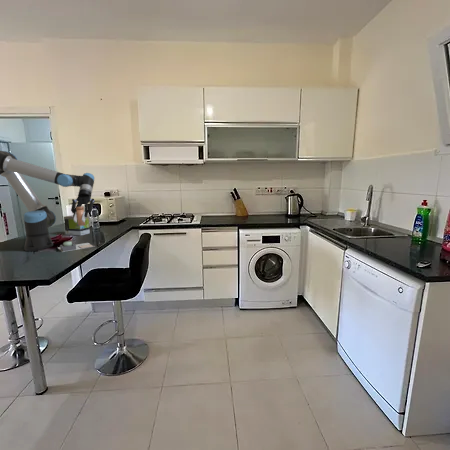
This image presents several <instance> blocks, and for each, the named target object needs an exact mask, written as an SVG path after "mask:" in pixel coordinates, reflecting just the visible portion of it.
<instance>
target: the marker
mask: <svg viewBox="0 0 450 450" xmlns="http://www.w3.org/2000/svg"><path fill="white" fill-rule="evenodd" d="M75 208H76V211H77V219H78V226H83V225H85V222H83V221H82V216H83V211H85V206H83V205H82V206H81V207H75Z"/></svg>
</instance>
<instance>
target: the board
mask: <svg viewBox="0 0 450 450" xmlns="http://www.w3.org/2000/svg"><path fill="white" fill-rule="evenodd" d="M75 245H76V251H77V250H83V249H84V250H85V249H90V248H94V247H96V246H95V245H93V244H91V243H89V242H85V243H79V244H75ZM57 249H58V250H59V251H61V253H64V252H66V251H64V252H63V251H62V250H61V249H60V246H59V247H58V246H57ZM71 251H72V250H70V252H71Z"/></svg>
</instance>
